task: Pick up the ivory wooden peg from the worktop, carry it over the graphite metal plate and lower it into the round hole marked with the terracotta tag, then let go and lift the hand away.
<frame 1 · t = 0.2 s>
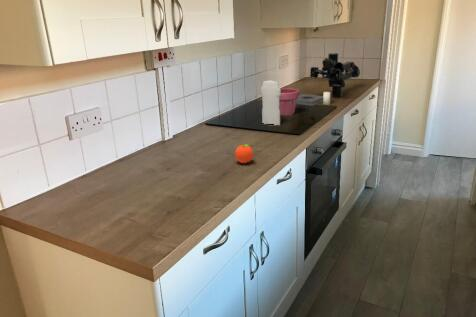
hand: (318, 76, 232), 17 cm above the worktop, fingers open, 9 cm apart
tall pale column: (271, 124, 201), on the worktop
plant pot: (285, 113, 220), on the worktop
peg: (326, 104, 238), on the worktop
hole plate: (307, 101, 245), on the worktop
clementine: (245, 162, 153), on the worktop
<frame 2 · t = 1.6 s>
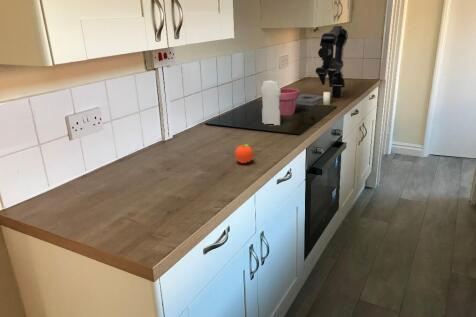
hand: (327, 83, 233), 12 cm above the worktop, fingers open, 9 cm apart
nothing on the worktop moved.
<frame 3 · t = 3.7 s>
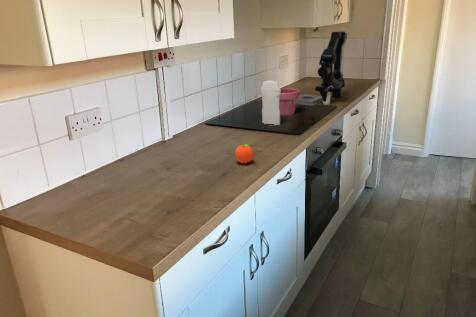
hand: (326, 100, 237), 2 cm above the worktop, fingers closed on peg, 4 cm apart
peg: (326, 103, 238), on the worktop, touching gripper
everything else where it was.
when the fingers open (3 cm above the worktop, at t = 9.0 s): peg drops 1 cm, resting in hole plate.
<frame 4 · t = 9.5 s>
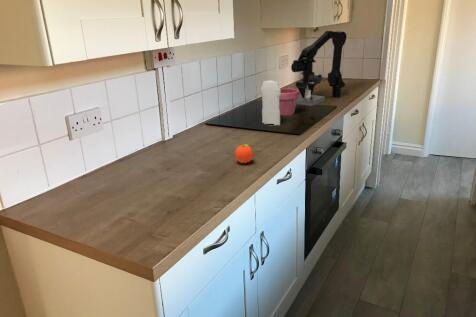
hand: (307, 96, 244), 3 cm above the worktop, fingers open, 9 cm apart
peg: (307, 101, 245), resting in hole plate
everything else where it was.
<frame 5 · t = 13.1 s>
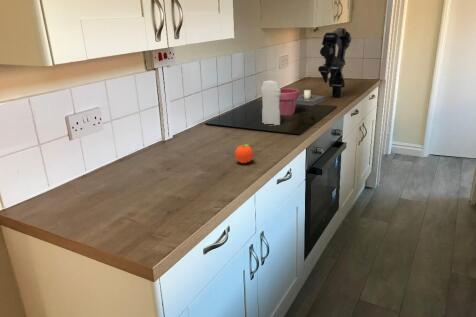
hand: (329, 81, 240), 12 cm above the worktop, fingers open, 9 cm apart
nothing on the worktop moved.
at the end: peg 0.1 cm off-centre on the hole plate, point 0.0 cm above the hole plate's base; peg tilted 0°; the gripper is holding nothing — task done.
